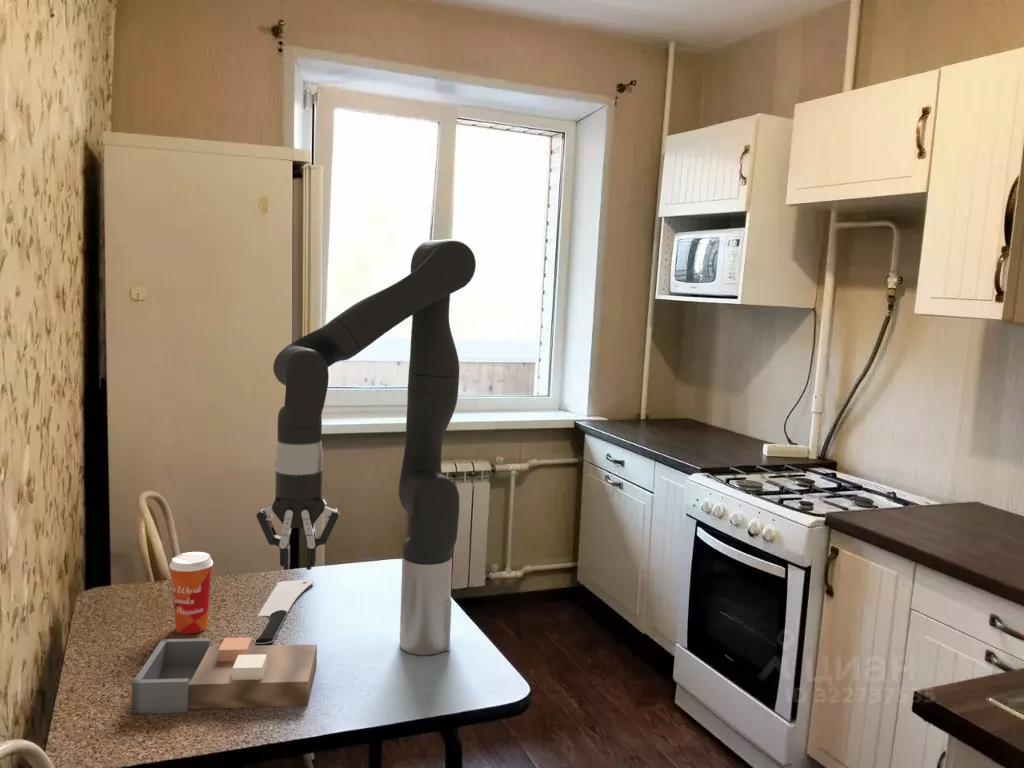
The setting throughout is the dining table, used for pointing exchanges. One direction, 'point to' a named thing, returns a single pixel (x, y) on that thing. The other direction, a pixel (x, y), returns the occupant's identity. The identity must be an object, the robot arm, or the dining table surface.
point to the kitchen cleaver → (280, 607)
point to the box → (168, 676)
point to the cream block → (249, 667)
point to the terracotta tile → (234, 648)
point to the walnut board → (278, 687)
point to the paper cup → (191, 591)
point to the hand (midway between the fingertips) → (297, 567)
